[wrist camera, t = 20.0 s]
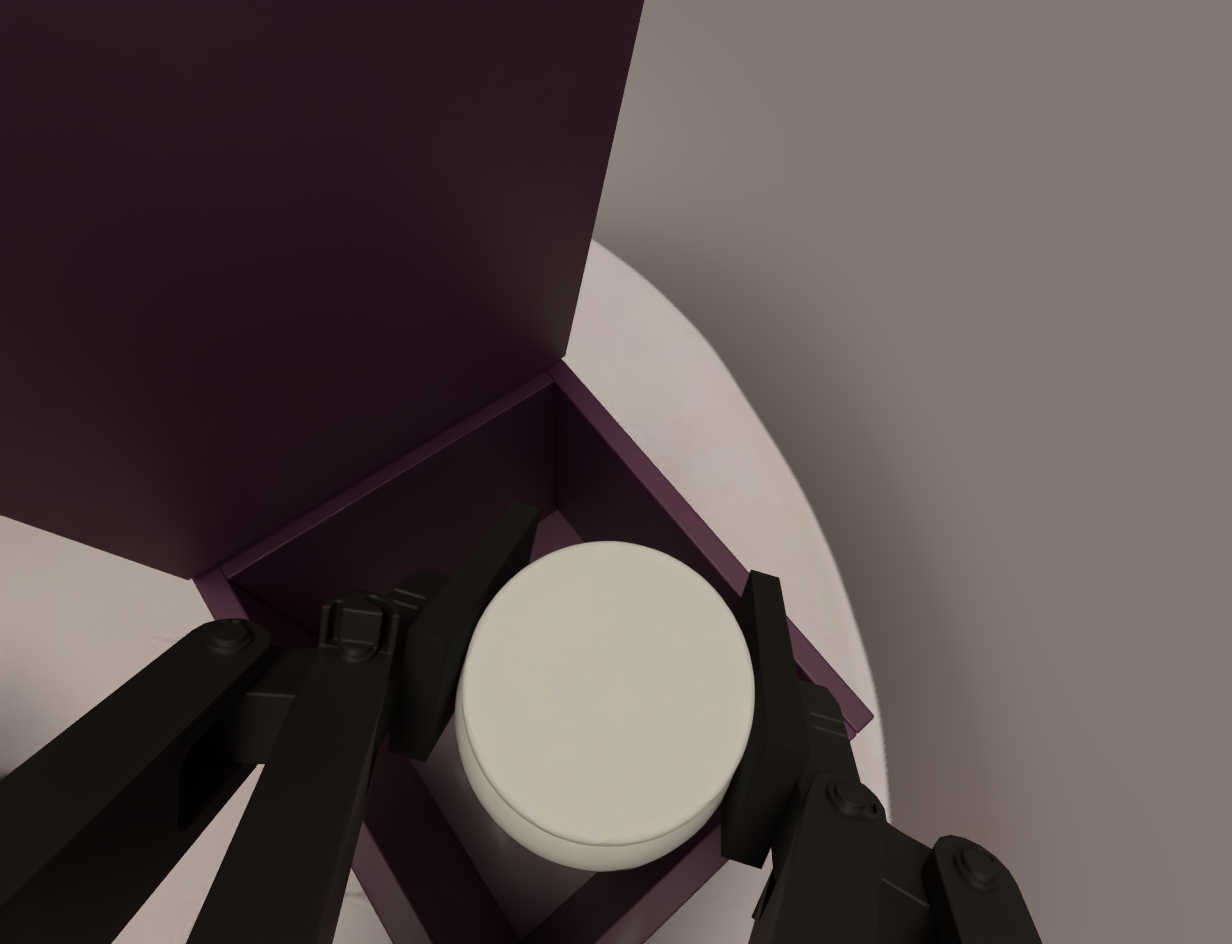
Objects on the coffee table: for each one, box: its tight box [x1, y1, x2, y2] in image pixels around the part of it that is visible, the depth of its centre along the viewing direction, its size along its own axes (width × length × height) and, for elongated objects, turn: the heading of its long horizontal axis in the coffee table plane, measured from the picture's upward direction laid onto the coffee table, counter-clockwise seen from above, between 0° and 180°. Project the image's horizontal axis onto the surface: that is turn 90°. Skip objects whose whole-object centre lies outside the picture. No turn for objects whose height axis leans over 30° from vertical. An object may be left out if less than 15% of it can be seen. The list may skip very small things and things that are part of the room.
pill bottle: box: [455, 541, 755, 872], centre depth 15 cm, size 6×6×10 cm
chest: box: [192, 359, 874, 944], centre depth 26 cm, size 16×14×13 cm
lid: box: [0, 0, 644, 580], centre depth 14 cm, size 16×14×6 cm
